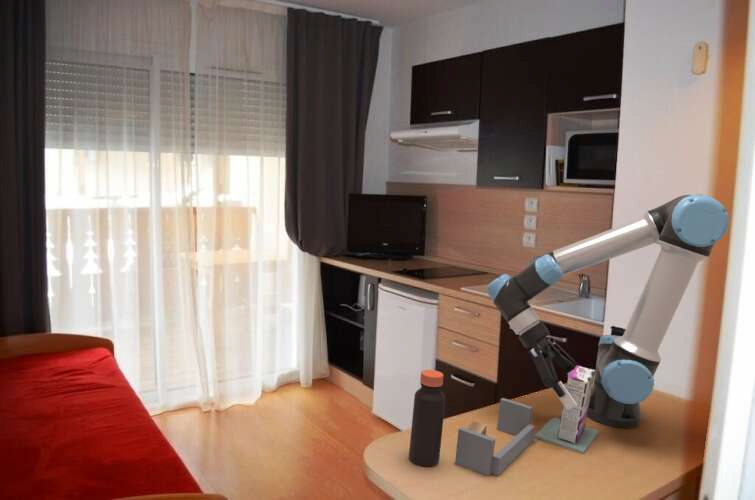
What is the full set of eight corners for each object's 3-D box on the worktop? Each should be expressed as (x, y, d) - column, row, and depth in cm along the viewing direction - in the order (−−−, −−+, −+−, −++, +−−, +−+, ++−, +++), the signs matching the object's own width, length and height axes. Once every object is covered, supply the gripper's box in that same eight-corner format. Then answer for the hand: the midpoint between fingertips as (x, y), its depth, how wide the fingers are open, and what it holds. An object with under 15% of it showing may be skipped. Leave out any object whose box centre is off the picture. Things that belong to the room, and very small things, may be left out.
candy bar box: (565, 422, 149) (576, 364, 147) (584, 429, 147) (596, 370, 144) (555, 438, 140) (567, 375, 137) (576, 445, 137) (588, 381, 135)
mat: (598, 433, 147) (599, 431, 147) (583, 453, 134) (583, 451, 134) (553, 419, 153) (553, 417, 153) (534, 437, 141) (534, 435, 141)
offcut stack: (486, 444, 135) (488, 424, 135) (477, 458, 128) (479, 437, 128) (470, 440, 137) (472, 420, 137) (460, 453, 130) (462, 432, 129)
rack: (535, 439, 140) (538, 408, 139) (494, 478, 120) (499, 443, 118) (499, 427, 145) (502, 397, 144) (455, 463, 125) (458, 429, 124)
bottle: (445, 461, 125) (454, 375, 123) (425, 470, 121) (434, 381, 118) (422, 449, 130) (430, 366, 127) (402, 457, 125) (410, 371, 123)
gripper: (534, 327, 160) (581, 393, 154) (500, 345, 140) (552, 421, 133) (555, 313, 156) (604, 379, 150) (523, 329, 136) (578, 406, 130)
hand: (580, 399), depth 142 cm, fingers open, 13 cm apart
